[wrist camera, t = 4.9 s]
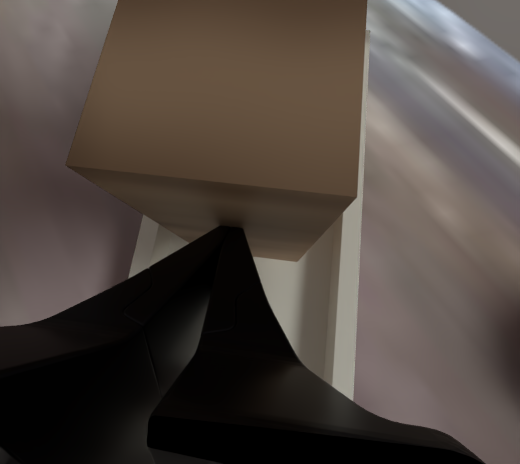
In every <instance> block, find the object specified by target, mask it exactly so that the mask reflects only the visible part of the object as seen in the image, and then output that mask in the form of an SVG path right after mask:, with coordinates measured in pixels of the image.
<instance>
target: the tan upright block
mask: <svg viewBox="0 0 520 464" xmlns="http://www.w3.org/2000/svg"><path fill="white" fill-rule="evenodd" d="M366 14H367V0H118V3H117V6H116V9H115V12H114V15H113V18H112V21H111V24H110V28H109V31H108V34H107V37H106V40H105V43H104V46H103V49H102V52H101V56H100V59H99V62H98V65H97V68H96V71H95V74H94V77H93V80H92V84H91V87H90V90H89V93H88V96H87V99H86V102H85V105H84V108H83V112H82V115H81V118H80V121H79V124H78V127H77V130H76V133H75V136H74V140H73V143H72V146H71V149H70V152H69V155H68V158H67V161H66V164H65V165H66V166H67V167H69V168H70V169H72V170H74V171H75V172H77V173H78V174H80V175H82V176H83V177H85V178H86V179H88V180H89V181H91V182H93V183H94V184H96V185H97V186H99V187H101V188H102V189H104V190H105V191H107V192H109V193H110V194H112V195H113V196H115V197H117V198H118V199H120V200H121V201H123V202H125V203H126V204H128V205H129V206H131V207H132V208H134V209H136V210H137V211H139V212H140V213H142V214H144V215H145V216H147V217H148V218H150V219H152V220H153V221H155V222H156V223H158V224H160V225H161V226H163V227H164V228H166V229H168V230H169V231H171V232H172V233H174V234H175V235H177V236H179V237H180V238H182V239H183V240H185V241H187V242H188V243H191V242H192V241H194V240H196V239H198V238H199V237H201V236H203V235H204V234H206V233H208V232H209V231H211V230H213V229H215V228H216V227H218V226H229V227H231V228H232V227H238V228H243V229H244V232H245V235H246V238H247V241H248V244H249V247H250V250H251V253H252V256H253V257H261V258H269V259H277V260H285V261H293V262H298V261H299V260H300V259H301V258H302V256H303V255H304V254H305V253H306V252H307V251H308V250H309V249H310V248H311V247H312V246H313V245H314V243H315V242H316V241H317V240H318V239H319V238H320V237H321V236H322V235H323V234H324V233H325V231H326V230H327V229H328V228H329V227H330V226H331V225H332V224H333V223H334V222H335V221H336V220H337V218H338V217H339V216H340V215H341V214H342V213H343V212H344V211H345V210H346V209H347V208H348V207H349V205H350V204H351V203H352V202H353V201H354V200H355V199H356V198H357V191H358V171H359V152H360V132H361V112H362V92H363V73H364V53H365V33H366Z"/></svg>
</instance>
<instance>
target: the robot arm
mask: <svg viewBox="0 0 520 464" xmlns="http://www.w3.org/2000/svg"><path fill="white" fill-rule="evenodd" d="M0 464H485V463H484V462H483V461H482V460H481V459H480V458H478V457H477V456H476V455H475V454H474V453H473V452H471V451H470V450H469V449H467V448H466V447H465V446H464V445H462V444H461V443H460V442H459V441H457V440H456V439H454V438H453V437H451V436H450V435H448V434H446V433H443V432H441V431H438V430H435V429H431V428H426V427H421V426H415V425H408V424H402V423H398V422H394V421H390V420H388V419H385V418H382V417H379V416H377V415H375V414H373V413H371V412H369V411H367V410H365V409H364V408H362V407H360V406H359V405H357V404H356V403H355V402H353V401H352V400H350V399H349V398H348V397H346V396H345V395H343V394H342V393H341V392H339V391H338V390H337V389H335V388H334V387H332V386H331V385H330V384H328V383H327V382H325V381H324V380H323V379H321V378H320V377H319V376H317V375H316V374H314V373H313V372H312V371H310V370H309V369H308V368H307V367H306V366H305V365H304V364H303V363H302V362H301V361H300V359H299V358H298V356H297V355H296V353H295V351H294V350H293V348H292V346H291V344H290V342H289V340H288V338H287V337H286V335H285V333H284V331H283V329H282V327H281V326H280V324H279V322H278V320H277V318H276V316H275V314H274V312H273V310H272V308H271V306H270V304H269V302H268V299H267V297H266V294H265V292H264V289H263V286H262V283H261V280H260V277H259V274H258V271H257V268H256V265H255V262H254V259H253V256H252V253H251V250H250V247H249V244H248V241H247V238H246V235H245V232H244V229H243V228H238V227H232V228H231V227H229V226H218V227H216V228H215V229H213V230H211V231H209V232H208V233H206V234H204V235H203V236H201V237H199V238H198V239H196V240H194V241H192V242H191V243H189V244H187V245H186V246H184V247H182V248H180V249H179V250H177V251H175V252H174V253H172V254H170V255H168V256H167V257H165V258H163V259H162V260H160V261H158V262H157V263H155V264H153V265H151V266H150V267H149V268H146V269H144V270H143V271H141V272H139V273H138V274H136V275H134V276H132V277H130V278H129V279H127V280H125V281H123V282H121V283H119V284H117V285H115V286H114V287H112V288H110V289H108V290H106V291H104V292H102V293H100V294H97V295H95V296H93V297H91V298H89V299H87V300H85V301H83V302H81V303H79V304H77V305H75V306H73V307H71V308H69V309H67V310H64V311H62V312H60V313H58V314H56V315H54V316H52V317H49V318H47V319H44V320H41V321H37V322H34V323H29V324H24V325H17V326H4V327H0Z"/></svg>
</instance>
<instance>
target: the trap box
mask: <svg viewBox="0 0 520 464" xmlns="http://www.w3.org/2000/svg"><path fill="white" fill-rule="evenodd" d="M369 46H370V31H369V30H366V33H365V53H364V73H363V92H362V112H361V132H360V152H359V171H358V191H357V198H356V199H355V200H354V201H353V202H352V203H351V204H350V205H349V207H348V208H347V209H346V210H345V211H344V212H343V213H342V214H341V215H340V216H339V217H338V218H337V220H336V221H335V222H334V223H333V224H332V225H331V226H330V227H329V228H328V229H327V230H326V231H325V233H324V234H323V235H322V236H321V237H320V238H319V239H318V240H317V241H316V242H315V243H314V245H313V246H312V247H311V248H310V249H309V250H308V251H307V252H306V253H305V254H304V255H303V256H302V258H301V259H300V260H299V261H298V262H293V261H285V260H277V259H269V258H261V257H253V259H254V262H255V265H256V268H257V271H258V274H259V277H260V280H261V283H262V286H263V289H264V292H265V294H266V297H267V299H268V302H269V304H270V306H271V308H272V310H273V312H274V314H275V316H276V318H277V320H278V322H279V324H280V326H281V327H282V329H283V331H284V333H285V335H286V337H287V338H288V340H289V342H290V344H291V346H292V348H293V350H294V351H295V353H296V355H297V356H298V358H299V359H300V361H301V362H302V363H303V364H304V365H305V366H306V367H307V368H308V369H309V370H310V371H312V372H313V373H314V374H316V375H317V376H319V377H320V378H321V379H323V380H324V381H325V382H327V383H328V384H330V385H331V386H332V387H334V388H335V389H337V390H338V391H339V392H341V393H342V394H343V395H345V396H346V397H348V398H349V399H350V400H352V401H353V392H354V371H355V349H356V327H357V306H358V284H359V262H360V241H361V219H362V197H363V176H364V154H365V132H366V111H367V89H368V67H369ZM187 244H189V243H188V242H187V241H185V240H183V239H182V238H180V237H179V236H177V235H175V234H174V233H172V232H171V231H169V230H168V229H166V228H164V227H163V226H161V225H160V224H158V223H156V222H155V221H153V220H152V219H150V218H148V217H147V216H145V215H144V214H143V218H142V222H141V226H140V231H139V235H138V239H137V243H136V247H135V252H134V256H133V260H132V264H131V268H130V273H129V277H128V279H129V278H130V277H132V276H134V275H136V274H138V273H139V272H141V271H143V270H144V269H146V268H149V267H150V266H151V265H153V264H155V263H157V262H158V261H160V260H162V259H163V258H165V257H167V256H168V255H170V254H172V253H174V252H175V251H177V250H179V249H180V248H182V247H184V246H186V245H187Z"/></svg>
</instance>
